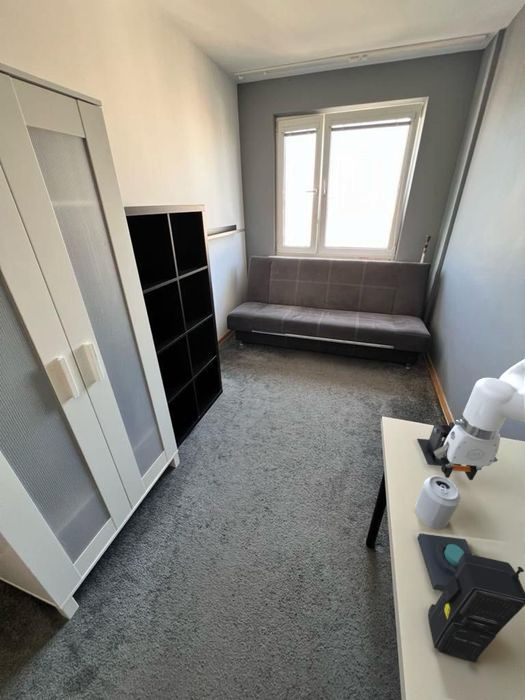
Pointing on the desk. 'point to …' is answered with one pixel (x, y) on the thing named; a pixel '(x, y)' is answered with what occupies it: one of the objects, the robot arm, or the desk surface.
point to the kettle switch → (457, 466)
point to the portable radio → (475, 606)
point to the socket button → (453, 554)
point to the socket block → (439, 558)
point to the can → (437, 502)
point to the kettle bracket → (434, 444)
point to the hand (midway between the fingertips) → (456, 474)
